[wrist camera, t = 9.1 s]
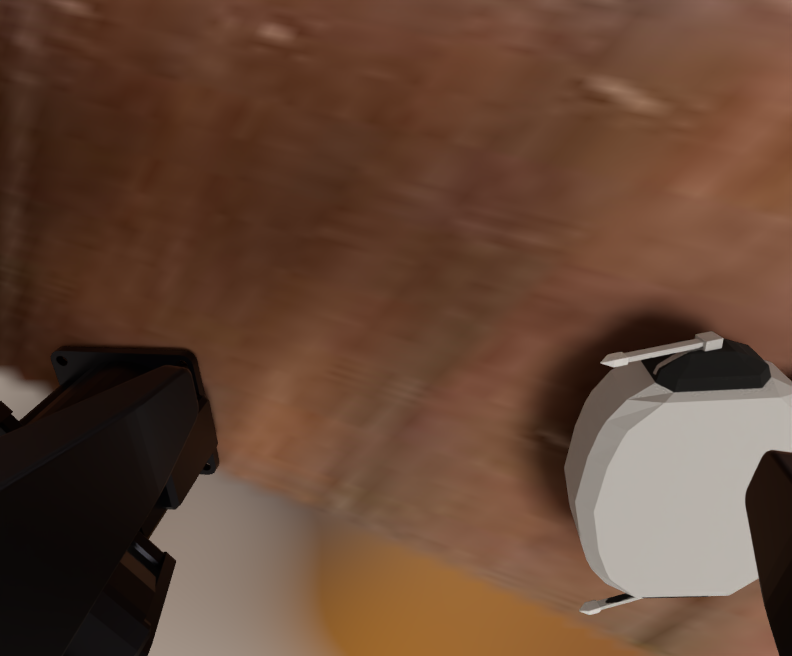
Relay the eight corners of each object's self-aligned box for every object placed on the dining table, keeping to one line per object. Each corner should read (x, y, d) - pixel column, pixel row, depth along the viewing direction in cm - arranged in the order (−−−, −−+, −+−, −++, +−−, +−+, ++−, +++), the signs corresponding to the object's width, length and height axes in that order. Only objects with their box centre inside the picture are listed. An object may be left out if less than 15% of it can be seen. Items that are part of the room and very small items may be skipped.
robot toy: (988, 282, 20) (560, 308, 21) (1128, 343, 16) (592, 370, 17) (885, 532, 26) (549, 541, 27) (970, 624, 22) (571, 630, 23)
